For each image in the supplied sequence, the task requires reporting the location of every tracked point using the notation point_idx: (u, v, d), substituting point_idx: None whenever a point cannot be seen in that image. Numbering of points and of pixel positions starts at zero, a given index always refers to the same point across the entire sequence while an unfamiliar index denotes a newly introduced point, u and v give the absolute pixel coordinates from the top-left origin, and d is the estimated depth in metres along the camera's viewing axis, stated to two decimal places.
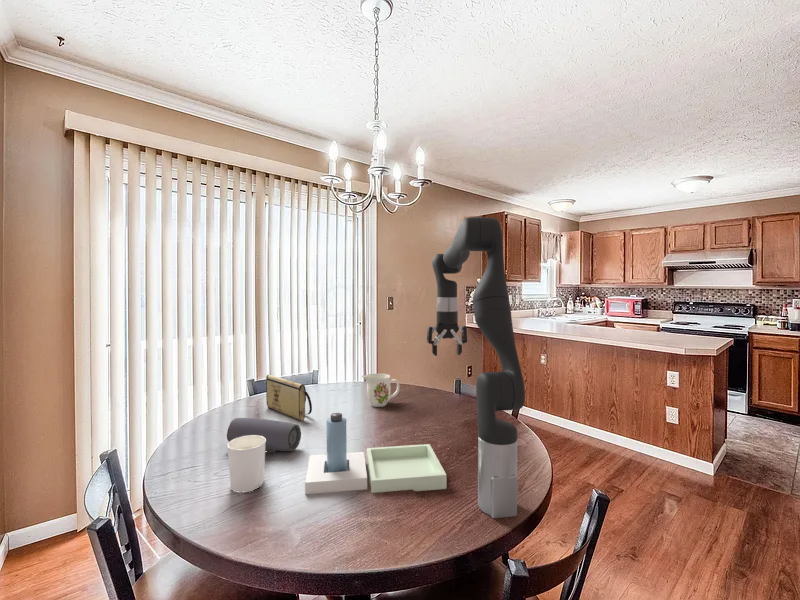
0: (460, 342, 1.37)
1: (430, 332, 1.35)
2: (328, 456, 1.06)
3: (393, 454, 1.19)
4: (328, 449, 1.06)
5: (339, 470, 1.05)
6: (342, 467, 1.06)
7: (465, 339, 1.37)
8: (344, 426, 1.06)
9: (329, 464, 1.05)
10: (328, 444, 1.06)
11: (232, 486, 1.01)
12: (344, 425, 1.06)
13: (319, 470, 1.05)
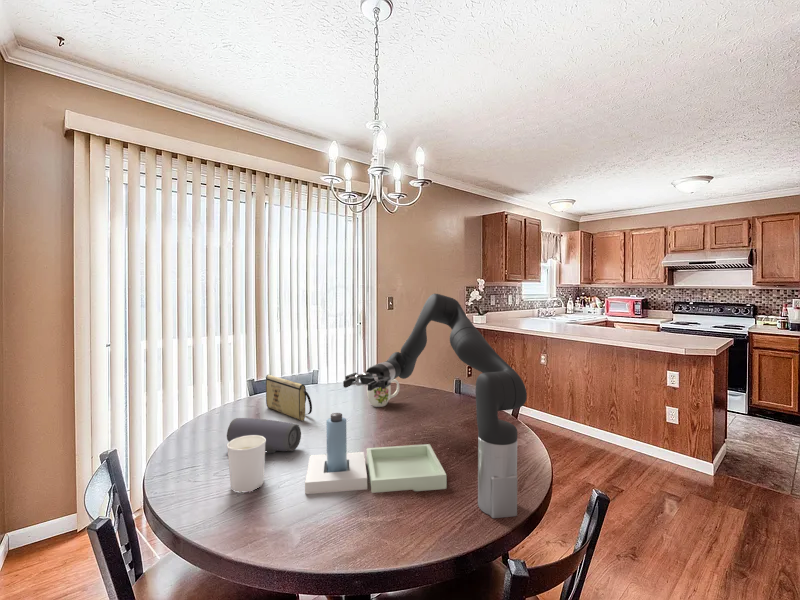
0: (376, 380, 1.20)
1: (353, 374, 1.27)
2: (328, 456, 1.06)
3: (393, 454, 1.19)
4: (328, 449, 1.06)
5: (339, 470, 1.05)
6: (342, 467, 1.06)
7: (383, 379, 1.20)
8: (344, 426, 1.06)
9: (329, 464, 1.05)
10: (328, 444, 1.06)
11: (232, 486, 1.01)
12: (344, 425, 1.06)
13: (319, 470, 1.05)
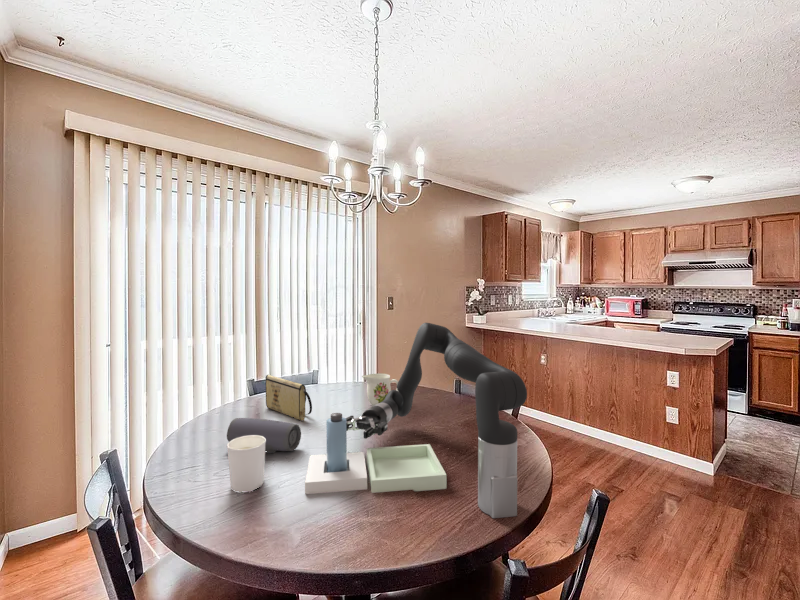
0: (373, 426, 1.18)
1: (349, 417, 1.26)
2: (328, 456, 1.06)
3: (393, 454, 1.19)
4: (328, 449, 1.06)
5: (339, 470, 1.05)
6: (342, 467, 1.06)
7: (380, 426, 1.18)
8: (344, 426, 1.06)
9: (329, 464, 1.05)
10: (328, 444, 1.06)
11: (232, 486, 1.01)
12: (344, 425, 1.06)
13: (319, 470, 1.05)
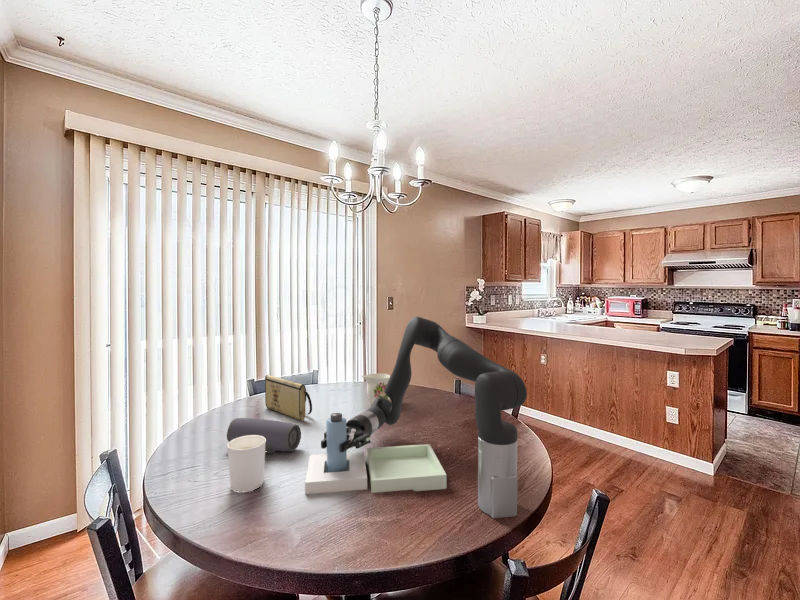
0: (351, 438, 1.08)
1: None
2: (328, 456, 1.06)
3: (393, 454, 1.19)
4: (328, 449, 1.06)
5: (339, 470, 1.05)
6: (342, 467, 1.06)
7: (358, 438, 1.08)
8: (344, 426, 1.06)
9: (329, 464, 1.05)
10: (328, 444, 1.06)
11: (232, 486, 1.01)
12: (344, 425, 1.06)
13: (319, 470, 1.05)
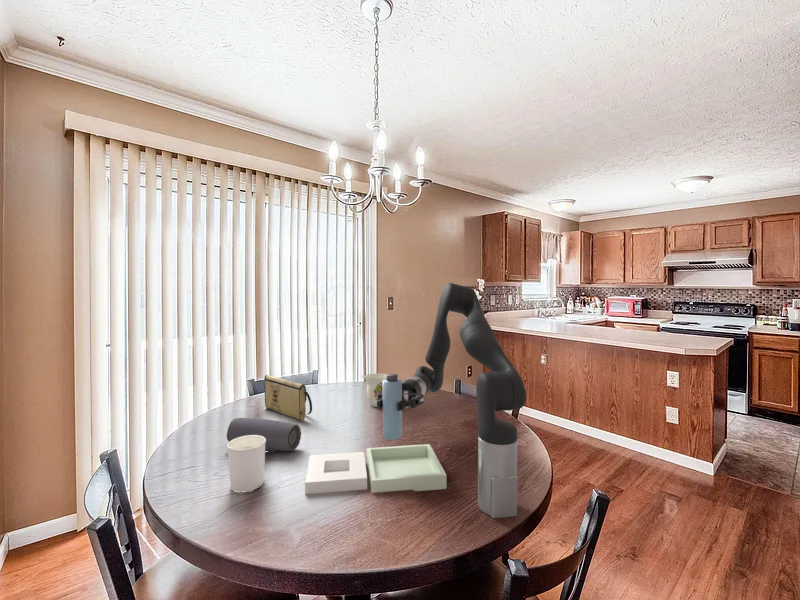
0: None
1: None
2: (385, 415, 1.07)
3: (393, 454, 1.19)
4: (385, 408, 1.07)
5: (396, 429, 1.07)
6: (399, 426, 1.07)
7: (413, 398, 1.10)
8: (400, 386, 1.08)
9: (386, 423, 1.07)
10: (385, 403, 1.07)
11: (232, 486, 1.01)
12: (400, 385, 1.08)
13: (319, 470, 1.05)
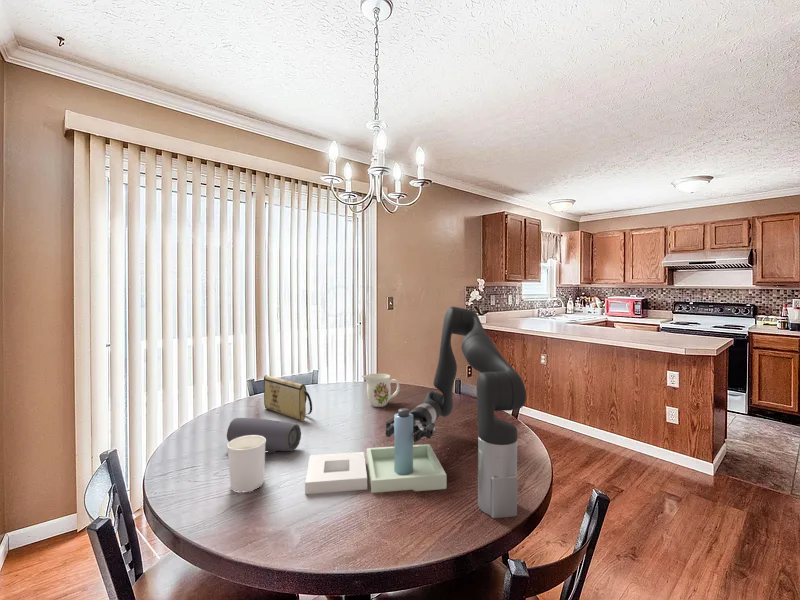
0: (421, 428, 1.11)
1: (393, 419, 1.19)
2: (396, 450, 1.09)
3: (393, 454, 1.19)
4: (396, 443, 1.09)
5: (407, 464, 1.08)
6: (410, 461, 1.09)
7: (428, 428, 1.11)
8: (412, 421, 1.09)
9: (398, 458, 1.08)
10: (396, 439, 1.09)
11: (232, 486, 1.01)
12: (412, 420, 1.09)
13: (319, 470, 1.05)
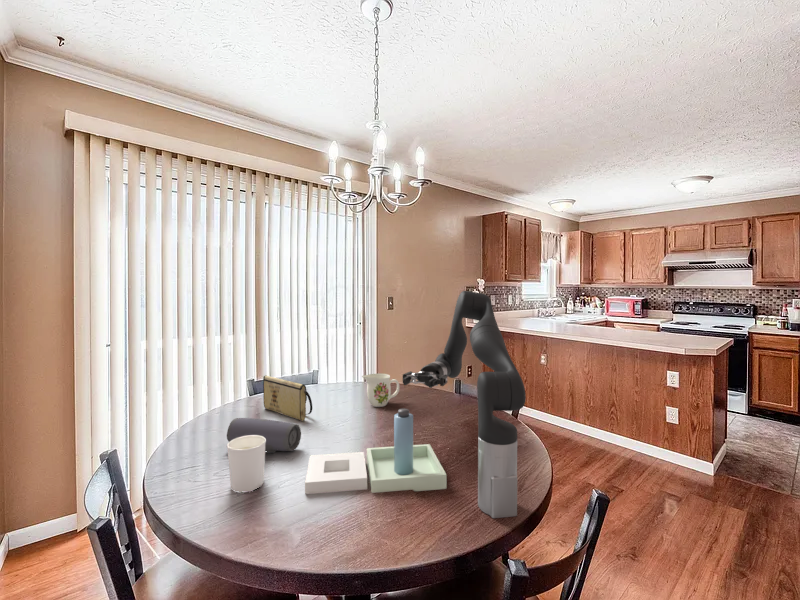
0: None
1: (408, 372, 1.30)
2: (396, 450, 1.09)
3: (393, 454, 1.19)
4: (396, 444, 1.09)
5: (407, 464, 1.08)
6: (410, 461, 1.09)
7: None
8: (412, 421, 1.09)
9: (398, 458, 1.08)
10: (396, 439, 1.09)
11: (232, 486, 1.01)
12: (412, 420, 1.09)
13: (319, 470, 1.05)
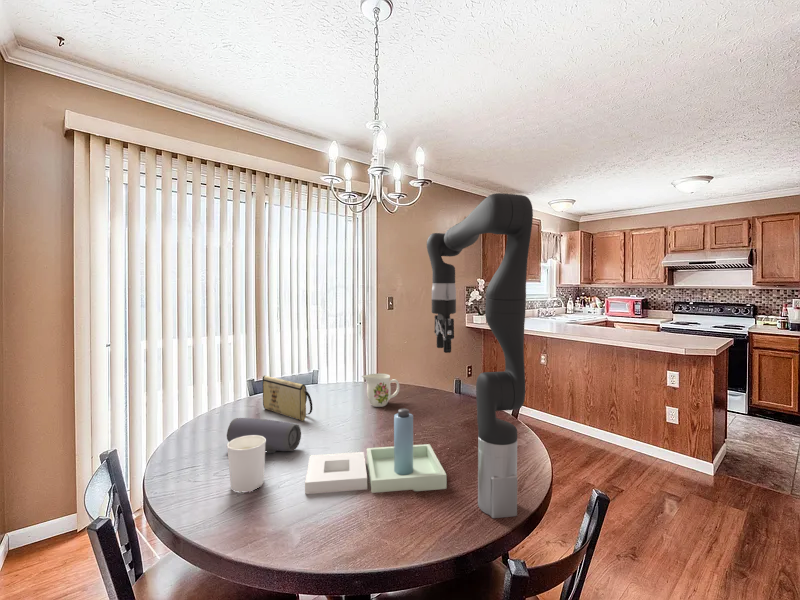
0: (443, 337, 1.15)
1: (435, 321, 1.25)
2: (396, 450, 1.09)
3: (393, 454, 1.19)
4: (396, 444, 1.09)
5: (407, 464, 1.08)
6: (410, 461, 1.09)
7: (445, 334, 1.13)
8: (412, 421, 1.09)
9: (398, 458, 1.08)
10: (396, 439, 1.09)
11: (232, 486, 1.01)
12: (412, 420, 1.09)
13: (319, 470, 1.05)
